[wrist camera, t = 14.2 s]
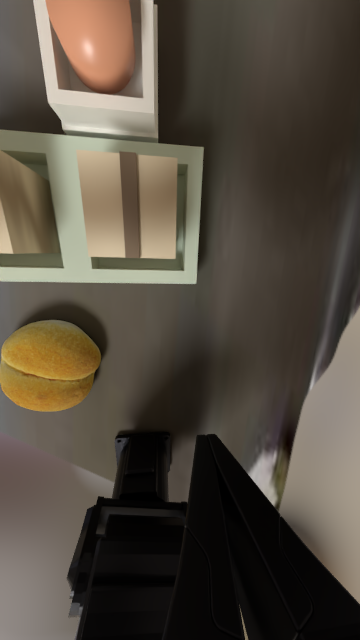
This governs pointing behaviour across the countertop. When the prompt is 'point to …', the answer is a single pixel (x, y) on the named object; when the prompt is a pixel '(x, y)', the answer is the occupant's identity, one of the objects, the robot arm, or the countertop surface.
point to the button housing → (101, 109)
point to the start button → (96, 41)
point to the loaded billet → (128, 204)
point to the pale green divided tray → (62, 173)
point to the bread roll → (48, 365)
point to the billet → (25, 210)
